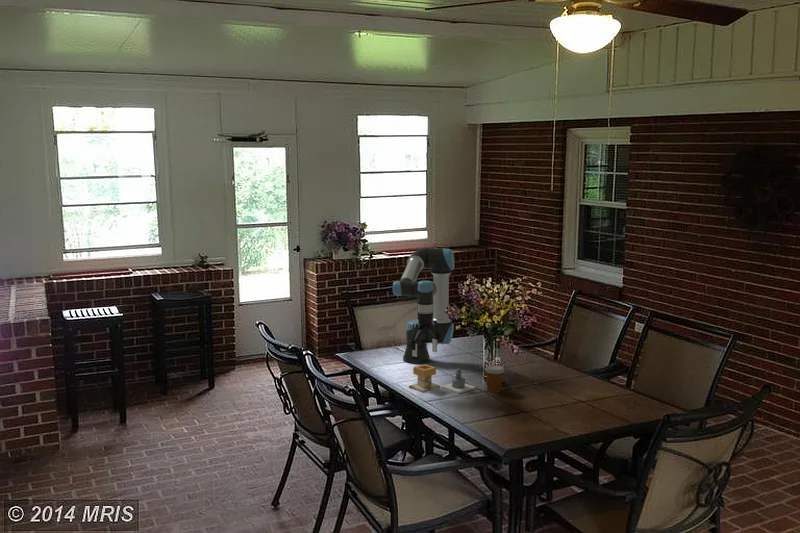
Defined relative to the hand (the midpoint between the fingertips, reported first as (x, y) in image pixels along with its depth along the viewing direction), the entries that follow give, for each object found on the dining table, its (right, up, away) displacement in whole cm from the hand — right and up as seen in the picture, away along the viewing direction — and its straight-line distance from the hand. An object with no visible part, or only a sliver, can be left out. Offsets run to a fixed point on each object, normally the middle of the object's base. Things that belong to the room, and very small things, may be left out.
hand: (424, 354), depth 366 cm
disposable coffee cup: (+34, -18, -2) cm, 39 cm away
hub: (+17, -17, +2) cm, 24 cm away
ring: (0, -10, +2) cm, 10 cm away
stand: (0, -17, +3) cm, 17 cm away
